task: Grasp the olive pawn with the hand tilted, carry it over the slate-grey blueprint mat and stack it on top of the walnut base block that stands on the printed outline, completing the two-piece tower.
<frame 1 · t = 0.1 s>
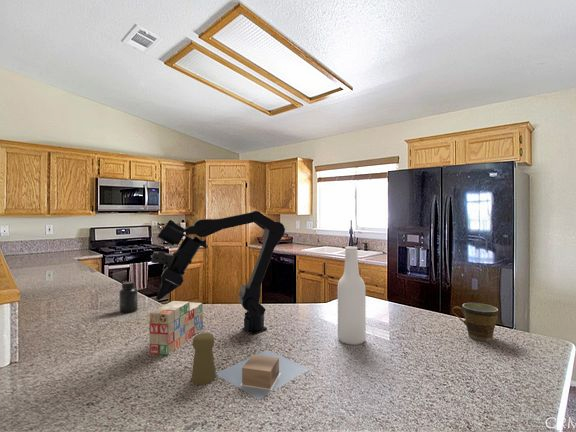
hand: (158, 295, 98), 15 cm above the countertop, tool tilted 35°, fingers open, 9 cm apart
supplement bottle: (128, 311, 130), on the countertop
ceramic cup: (474, 337, 101), on the countertop
walnut block: (261, 378, 75), resting on blueprint mat
alcohol: (351, 340, 99), on the countertop
stack of blocks: (178, 340, 100), on the countertop
blueprint mat: (263, 372, 79), on the countertop
olive pawn: (203, 380, 76), on the countertop
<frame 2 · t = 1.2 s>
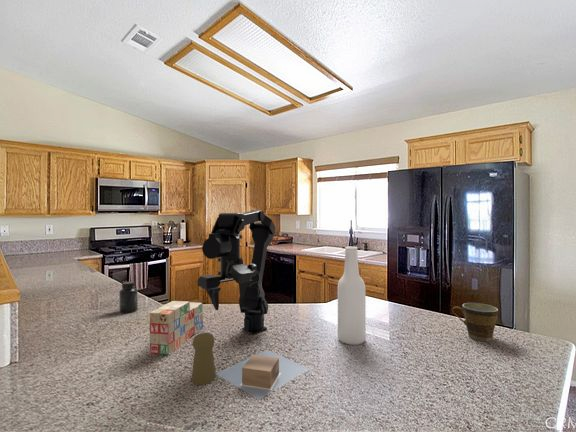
hand: (230, 306, 92), 13 cm above the countertop, tool pointing down, fingers open, 9 cm apart
nothing on the countertop moved.
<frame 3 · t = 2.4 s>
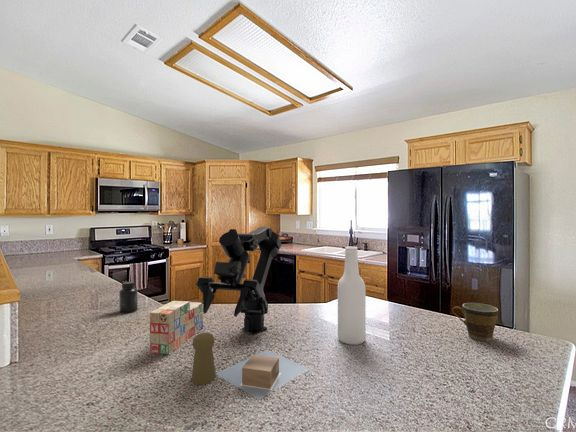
hand: (219, 314, 84), 13 cm above the countertop, tool tilted 45°, fingers open, 9 cm apart
nothing on the countertop moved.
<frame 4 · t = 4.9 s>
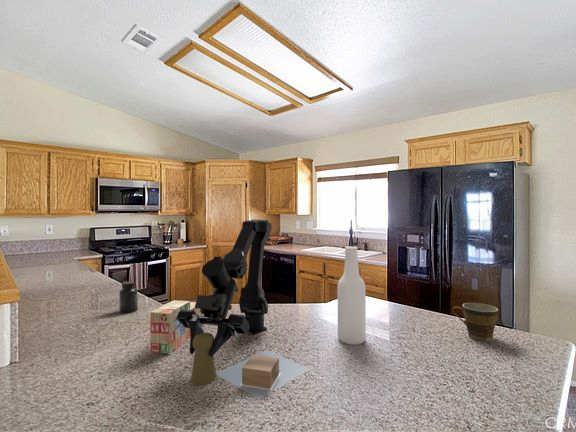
hand: (200, 354, 75), 7 cm above the countertop, tool tilted 45°, fingers closed on olive pawn, 5 cm apart
olive pawn: (203, 380, 76), on the countertop, touching gripper
everything else where it was.
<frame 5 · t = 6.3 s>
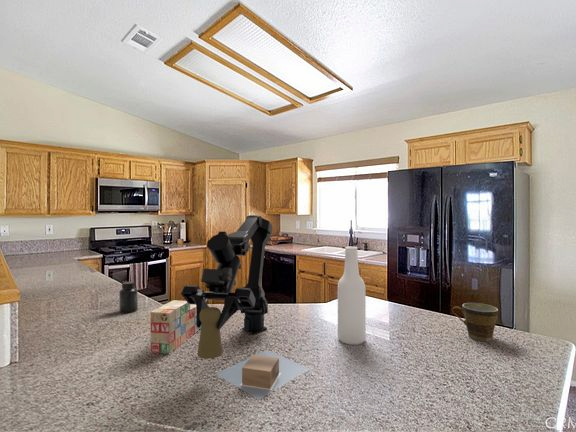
hand: (207, 328, 74), 13 cm above the countertop, tool tilted 45°, fingers closed on olive pawn, 5 cm apart
olive pawn: (210, 353, 76), point 6 cm above the countertop, touching gripper
everything else where it was.
when the fingers open (12 cm above the countertop, at t = 7.9 s): olive pawn stays where it is, resting on walnut block.
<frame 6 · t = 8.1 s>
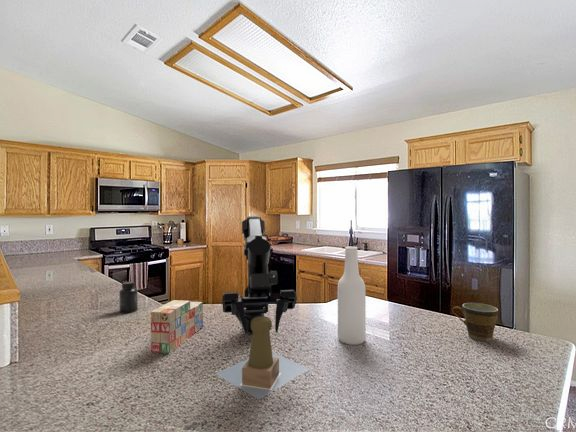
hand: (261, 333, 74), 12 cm above the countertop, tool tilted 45°, fingers open, 7 cm apart
walnut block: (261, 378, 75), resting on blueprint mat, touching olive pawn
olive pawn: (260, 363, 75), point 4 cm above the countertop, touching walnut block
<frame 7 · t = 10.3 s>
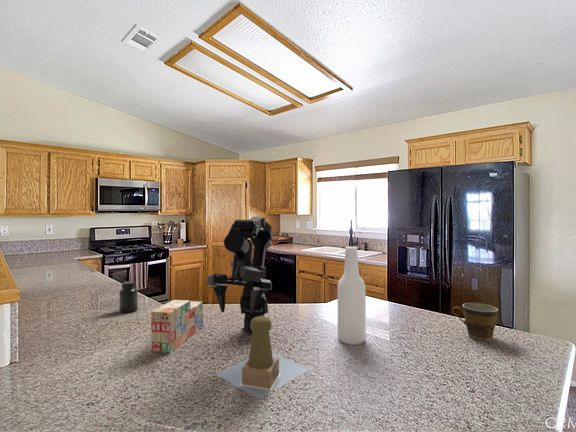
hand: (237, 313, 88), 12 cm above the countertop, tool tilted 20°, fingers open, 9 cm apart
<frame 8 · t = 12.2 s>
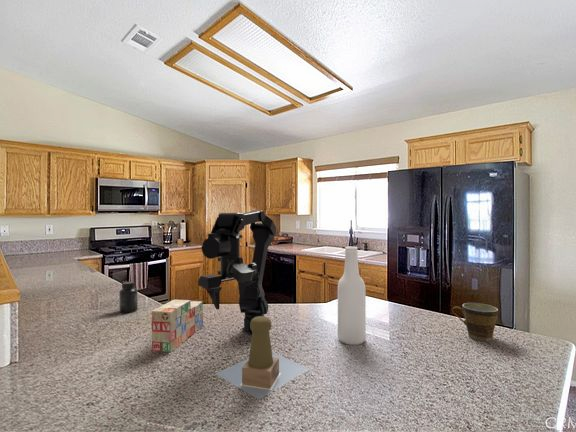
hand: (230, 305, 93), 13 cm above the countertop, tool pointing down, fingers open, 9 cm apart
at the end: olive pawn 0.1 cm from the walnut block (horizontally); olive pawn point 4.2 cm above the countertop; olive pawn tilted 0° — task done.
